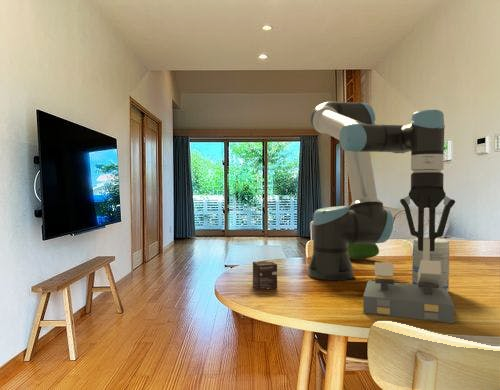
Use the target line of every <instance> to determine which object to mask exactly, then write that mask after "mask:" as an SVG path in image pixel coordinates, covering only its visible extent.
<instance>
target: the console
mask: <svg viewBox="0 0 500 390" xmlns="http://www.w3.org/2000/svg"><path fill="white" fill-rule="evenodd" d="M362 306H363V308H362V309H363V311H362V313H363V314H370V315H378V316H380V315H381V316H387V317H396V318H404V319H405V318H406V319H414V320H423V321H432V322H439V323H448V324H455V304H454V302H453V300H452V298H451V296H450V293H449V291H448V292H447V290H446V288H445V287H439V283H427V282H418V285H415V284H412V283H400V282H395V280H394V279H387V278H379V277H378V278H377V277H376V278H375V279H374V280H367V283H366V285H365V290H364V292H363V299H362Z"/></svg>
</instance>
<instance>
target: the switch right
mask: <svg viewBox="0 0 500 390" xmlns="http://www.w3.org/2000/svg"><path fill="white" fill-rule="evenodd" d="M440 275H441V263H440V261H427V260H421V262H420V266H419V270H418V282H427V283H437V281H438V279H439V277H440Z"/></svg>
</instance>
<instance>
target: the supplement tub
mask: <svg viewBox="0 0 500 390" xmlns="http://www.w3.org/2000/svg"><path fill="white" fill-rule="evenodd" d="M421 260H422V251H419V250H418V238H417V237H416V238H414V239H413V243H412V265H411V266H412V271H411V272H412V274H411V275H412V277H411V284H415V285H418V270H419V266H420V262H421ZM430 261H440V263H441V275H440V277H439V279H438V281H437V283H439V287H445V288H446V290H447V292H448V293H449V290H450V289H449V287H450V286H449V285H450V283H449V282H450V281H449V280H450V240H447V239H443V238H436V239H435V250H434V252H433V251H430Z"/></svg>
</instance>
